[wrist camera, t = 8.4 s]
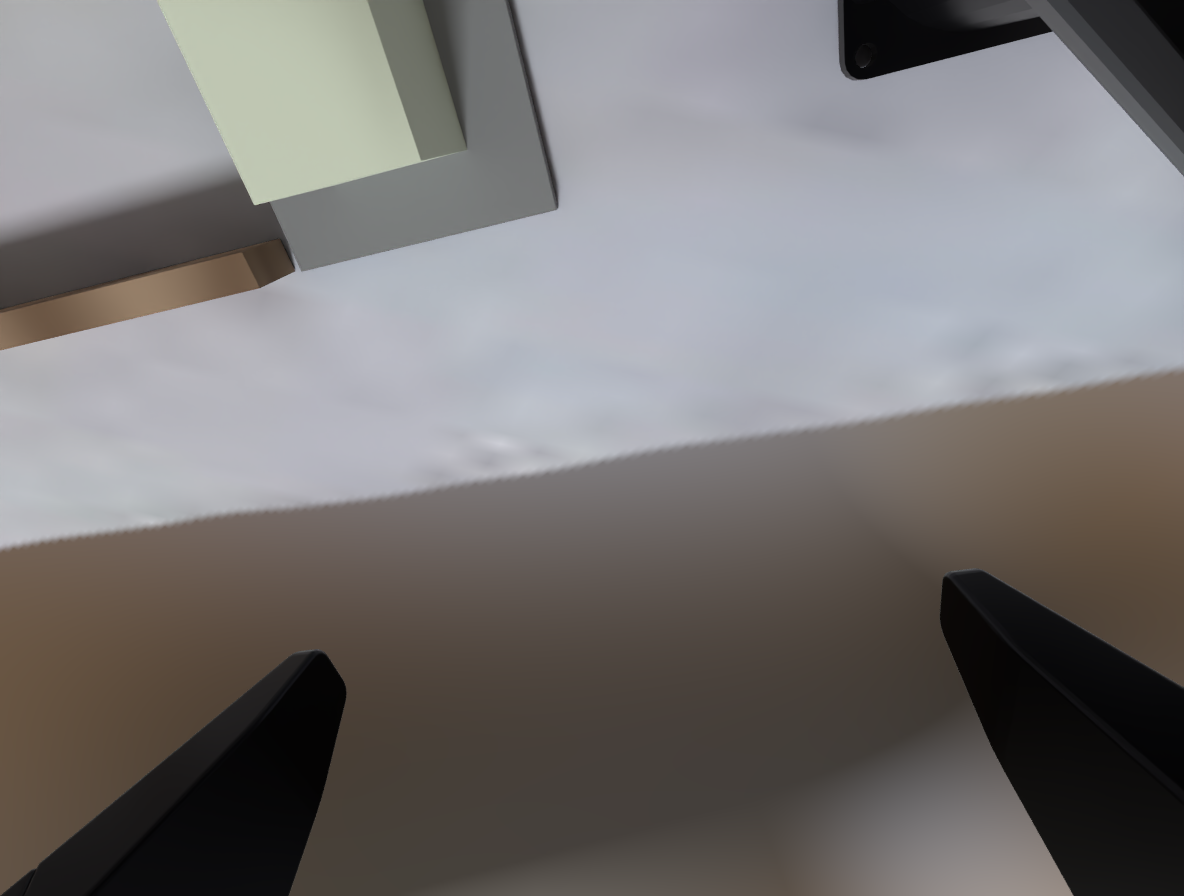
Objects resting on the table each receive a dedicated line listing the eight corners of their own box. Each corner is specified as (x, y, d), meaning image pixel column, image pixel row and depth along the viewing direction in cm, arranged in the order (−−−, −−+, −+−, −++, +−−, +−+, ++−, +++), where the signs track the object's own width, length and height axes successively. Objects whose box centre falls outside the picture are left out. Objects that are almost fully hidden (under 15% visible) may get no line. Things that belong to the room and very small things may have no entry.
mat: (436, -298, 12) (429, -313, 12) (558, 207, 17) (556, 209, 16) (111, -167, 13) (94, -177, 13) (309, 267, 18) (301, 271, 18)
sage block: (378, -147, 13) (287, -239, 10) (467, 149, 16) (421, 160, 12) (221, -89, 14) (82, -157, 10) (333, 185, 17) (254, 205, 13)
